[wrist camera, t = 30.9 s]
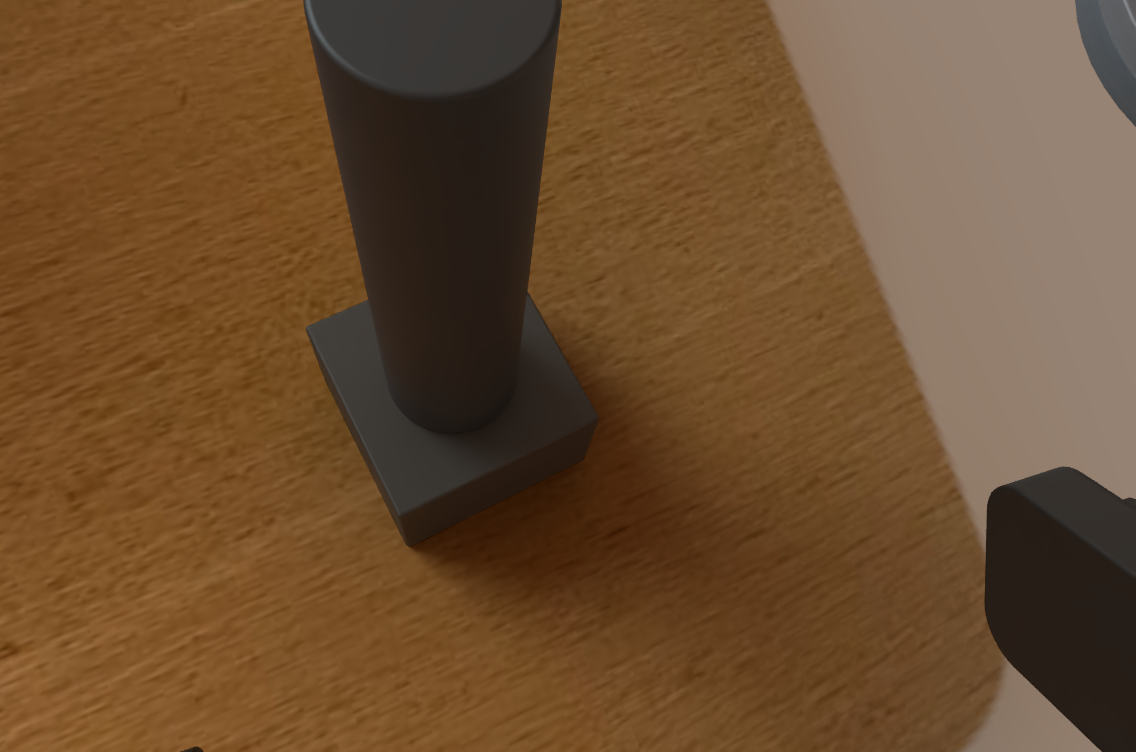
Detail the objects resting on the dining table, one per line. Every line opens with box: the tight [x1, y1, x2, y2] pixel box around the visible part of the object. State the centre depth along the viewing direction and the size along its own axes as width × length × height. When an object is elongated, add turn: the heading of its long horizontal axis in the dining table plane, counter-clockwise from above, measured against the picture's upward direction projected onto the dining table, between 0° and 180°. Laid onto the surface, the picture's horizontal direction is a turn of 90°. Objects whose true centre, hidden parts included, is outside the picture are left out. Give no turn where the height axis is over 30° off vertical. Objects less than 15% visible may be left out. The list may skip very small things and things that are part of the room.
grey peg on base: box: [304, 0, 599, 547], centre depth 17 cm, size 4×4×14 cm
